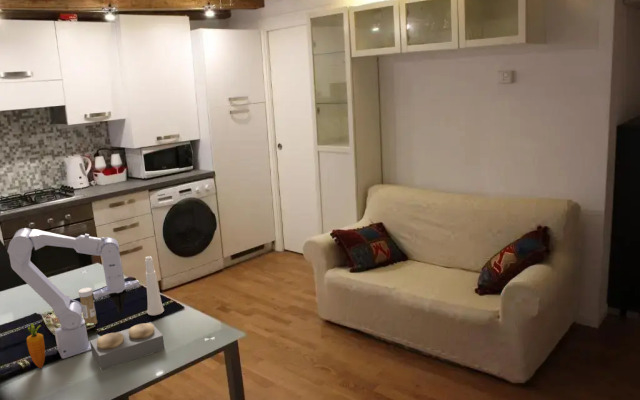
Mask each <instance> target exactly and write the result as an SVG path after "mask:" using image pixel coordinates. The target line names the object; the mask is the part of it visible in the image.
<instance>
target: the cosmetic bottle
mask: <svg viewBox="0 0 640 400" xmlns="http://www.w3.org/2000/svg"><path fill="white" fill-rule="evenodd" d="M144 259H145V260H144V263H145V283H146V286H145V287H146V297H147V311H146V312H147V313H146V314H148V315H149V316H157V315H161V314H163V312H164V311H165V308H164V306H163V303H162V298H161V293H160V288H159V283H158V277H157V272H156V270H155V267H154V259H153V257H152V256H151V255H148V256H145V258H144Z"/></svg>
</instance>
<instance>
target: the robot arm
mask: <svg viewBox="0 0 640 400" xmlns="http://www.w3.org/2000/svg"><path fill="white" fill-rule="evenodd" d="M45 246H51V247H60V248H69V249H74V251H76V253H78V254H85V255H90V256H91V255H92V256H100V257H101V258H102V267H103V273H104V277H105V284H106V287H103V288H100V289H97V290H96V291H92V292H93V295H92V296H93V299H95V300H98V299H100V298H103V297H106V296H108V297H110V299H111V300H112V302H113V304H114V306H115V308H116V310H117V313H118V314H122V313H124V308H125V303H126V302H125V301H126V299H127V296H128V292H127V290H130V289H134V288H140V282H139V280H138V279H136V280H135V279H134V280H129V281H125V275H124V270H123V269H124V268H123V263H122V260H121V254H120V244H119V242H118V240H117V239H116V238H114V237H111V236H107V237H104V236H101V237H96V236H90V234H89V233H84V234H80V235H78V236H77V237H74V236H67V235H63V234H60V233H53V232H50V231H45V230H40V229H38V228H37V229H36V228H33V229H31V228H29V227H24V228H23V227H22V228H20V229H17V230H16V232H15V233H14V236H12V239H10V241H9V243H8V247H7V254H8V255H9V257H8V258H9V261H10V268H11V269H12V270H13V271H14V272H15V273H16V274H17V275H18V276H19V277H20V278H21V279H22V280H23V281H24V282H25V283H26V284H27V285H28V286H29V287H30V288H31V289H32V290H33V291H34V292H35V293H36V294H37V295H38V296H39V297H40V298H42V300H43V301H45V302H46V304H48V305H49V306H50V307H51V309H52V311H53V313H54V315H55V317H56V318H57V320H58V321H59V324H60V327H57V328H56V329H54V335H55V336H54V337H55V341H56V350H57V351H58V353H59V356H60V357H61V359H63V360H64V359H66V358H69V357H72V356H77V355H79V354H82V353H85V352H89V351H91V345H90V340H89V338H88V332H87V331H88V330H87V326H86V325H85V320H84V318H83V313H82V311H83V307H82V305H81V301H78V300H75V299H73V298H72V297H70V296H69V295H66V294H64V293H63V292H62V291H61V290H60V289H59V288H58V287H57V286H56V285H55V284H54V283H53V282H52V281H51V280H50V279H49V278H48V277H47V276H46V275H45V274H44V273H43V272H42V271H41V270H40V269H39V268H38V267H37V266H36V265H35V264H34V263H33V262H32V261H31V257H32V250H33V248H34V251H37V250H39V249H41V248H44V247H45Z"/></svg>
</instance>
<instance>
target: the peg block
mask: <svg viewBox="0 0 640 400" xmlns="http://www.w3.org/2000/svg"><path fill="white" fill-rule="evenodd" d="M148 323H149V324H152V325H153V326H154V333H153V334H152V335H151V336H149V337H147V338H143V339H132V338H130V337H129V332H128V331H129V329H130V328H131V327H130V328H126V329H123V330H121V331H120V330H119V331H116V332H115V333H121V334H122V335H123V338H124V342H123V343H122V344H121V345H120V346H118V347H116V348H113V349H107V350H103V349H99V348H98V347H97V339H98V338H99V337H97V338H94V339H92V340H89V343H90V345H91V350H90V351H91V355H92V357H93V358H94V360H95V362H96V364H97V365H98V367H99V368H100V371H104V370H108V369H111V368H113V367H116V366H119V365H122V364H125V363H128V362H130V361H134V360H137V359H139V358H140V359H141V358H143V357H146V356H149V355H151V354H154V353H157V352H160V351H164V350H165V349H166V348H165V342H164V341H165V340H164V335H163V334H162V333H161V332H160V331H159V329H158V328H157V327H156V326H155V325H154V324H153V323H152V322H151V321H150V322H148Z"/></svg>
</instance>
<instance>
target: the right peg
mask: <svg viewBox="0 0 640 400" xmlns="http://www.w3.org/2000/svg"><path fill="white" fill-rule="evenodd" d="M152 324H153V323H152ZM152 324H149V322H146V323H137V324H135V325H133V326H131V327H130V329H129V328H128V329H129V331H128V332H129V337H130V338H132V339H143V338H147V337H149V336H151V335H152V334H153V333H154V326H155V325H154V324H153V325H154V326H153V325H152Z"/></svg>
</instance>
